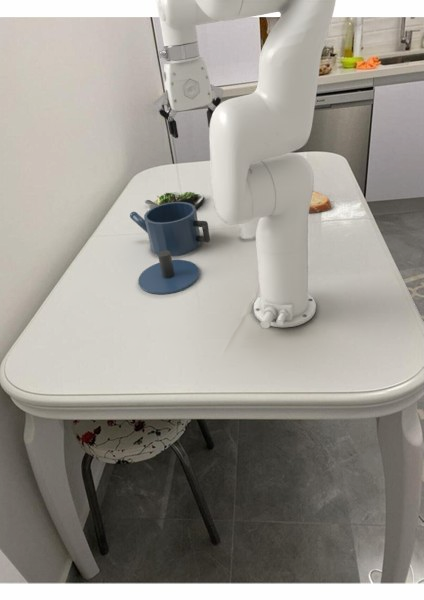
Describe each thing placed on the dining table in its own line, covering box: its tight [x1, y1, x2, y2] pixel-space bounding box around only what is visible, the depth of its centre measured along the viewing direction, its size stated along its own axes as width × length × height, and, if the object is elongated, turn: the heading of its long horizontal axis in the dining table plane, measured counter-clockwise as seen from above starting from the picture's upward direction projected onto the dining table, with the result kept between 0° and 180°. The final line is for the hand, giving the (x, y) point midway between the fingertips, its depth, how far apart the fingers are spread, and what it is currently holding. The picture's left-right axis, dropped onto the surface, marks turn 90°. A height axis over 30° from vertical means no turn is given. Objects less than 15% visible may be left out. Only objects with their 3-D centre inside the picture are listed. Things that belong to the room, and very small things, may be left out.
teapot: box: [143, 202, 202, 258], centre depth 117 cm, size 14×14×10 cm
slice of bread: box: [309, 190, 333, 214], centre depth 132 cm, size 18×18×4 cm
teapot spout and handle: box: [129, 211, 211, 243], centre depth 117 cm, size 2×23×8 cm, turn 67°
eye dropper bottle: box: [239, 219, 260, 240], centre depth 115 cm, size 4×6×12 cm
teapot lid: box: [138, 250, 200, 295], centre depth 104 cm, size 15×15×7 cm
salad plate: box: [144, 191, 205, 211], centre depth 142 cm, size 19×18×5 cm
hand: (193, 132), depth 107 cm, fingers open, 9 cm apart
